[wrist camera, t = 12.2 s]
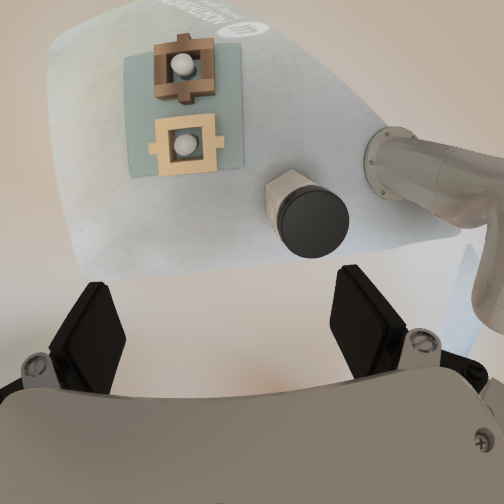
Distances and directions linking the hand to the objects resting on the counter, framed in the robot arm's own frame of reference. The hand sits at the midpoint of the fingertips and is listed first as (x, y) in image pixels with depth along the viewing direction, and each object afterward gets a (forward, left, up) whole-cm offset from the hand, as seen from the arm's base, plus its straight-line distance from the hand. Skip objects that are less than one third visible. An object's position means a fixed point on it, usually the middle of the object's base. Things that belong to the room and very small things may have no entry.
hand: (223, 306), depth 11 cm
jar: (-10, +4, -31) cm, 32 cm away
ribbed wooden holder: (+4, -15, -29) cm, 33 cm away
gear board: (+5, -10, -30) cm, 32 cm away
